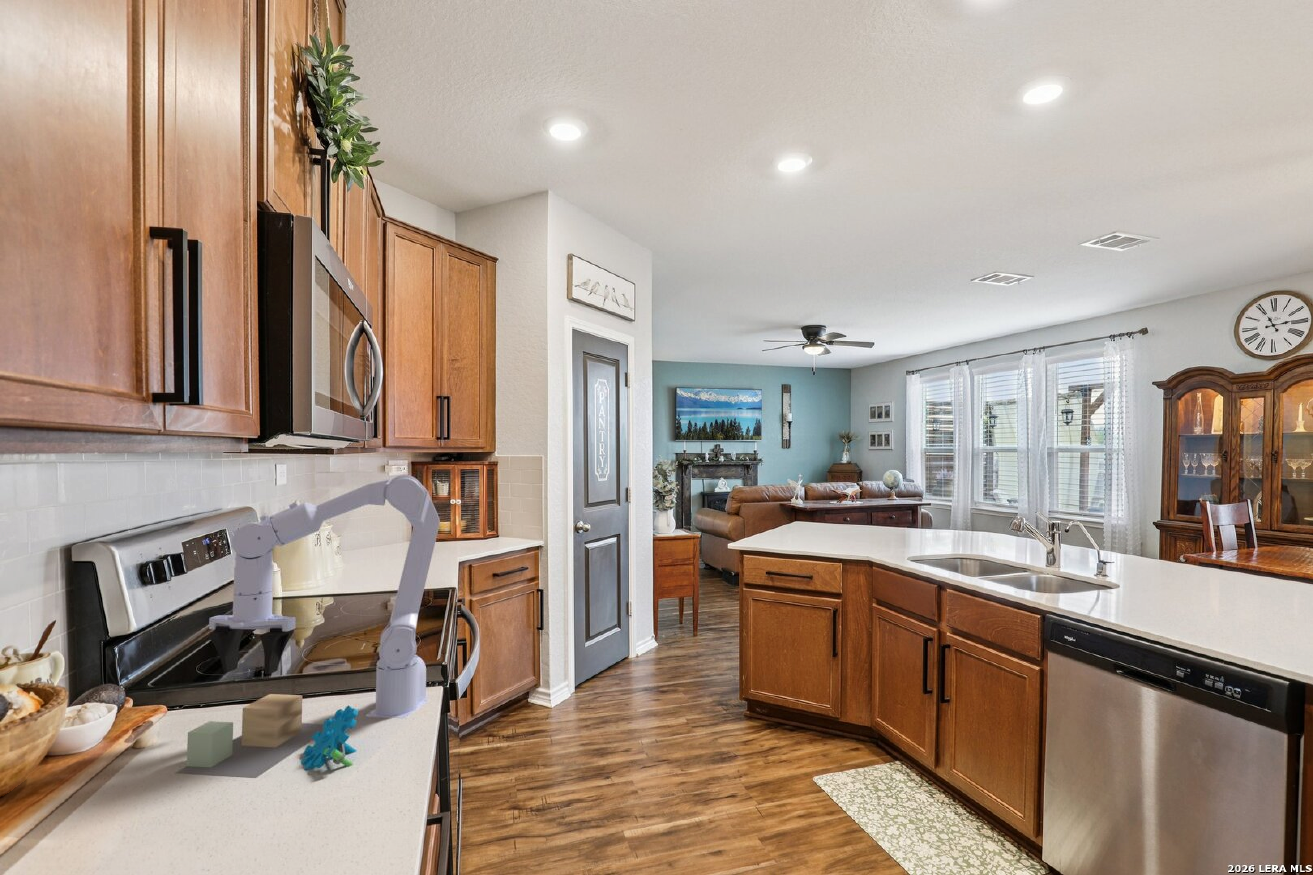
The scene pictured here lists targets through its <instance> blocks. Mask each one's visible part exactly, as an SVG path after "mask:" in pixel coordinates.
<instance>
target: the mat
mask: <svg viewBox="0 0 1313 875" xmlns="http://www.w3.org/2000/svg"><path fill="white" fill-rule="evenodd" d="M323 728H324V726H323V723H308V722H307V723H305V722H302V731H301V732H299V733H298V734H296V735H295V736H293V737H292V738H290V739H288V740H287V741H285V742H284V743H282V744H281V745H279V746H277V747H257V746H241V745H242V734H241V735H239V736H237V737H236V738H234V739H233V748H232V755H231V756H229V757H228V758H226V759H224V760H223V761H221V762H219V763H218V764H216V765H214V766H213V767H194V766H187V765H186V766H185V767H183V768H181V769H178V770H177V771H175V772H174V773H175V774H180V775H181V774H182V775H183V774H184V775H198V776H199V775H201V776H218V777H232V778H233V777H234V778H235V777H236V778H249V779H251V778H252V779H253V778H254V779H256V778H259V776H261V775H262V774H264V773H265V772H267V771H268V770H270V769H272V768H273V767H275V766H276V765H277V764H279V763H281V762H282V761H283V760H285V759H287V757H290V756H291V755H292V754H294V753H295V752H297V751H298V750H300V749H301V748H303V747H305V746H306V745H307V744H309V743H310V742H312V741H313V740H312V739H311V738H312V736H313V735H314V734H315V733H316V732H317V731H318V732H320V733H322V731H323Z"/></svg>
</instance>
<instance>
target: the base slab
mask: <svg viewBox="0 0 1313 875" xmlns="http://www.w3.org/2000/svg"><path fill="white" fill-rule="evenodd" d="M302 723H303V713H302V714H300V715H298V716H297V717H295V718H293V719H292V720H290V721H288V722H286V723H285V724H283V725H281V726H280V727H278V728H256V727H242V726H241V735H242V745H241V746H257V747H277V746H279V745H281V744H282V743H284V742H285V741H287V740H288V739H290V738H292V737H293V736H295V735H296V734H298V733H299V732H301V731H302Z"/></svg>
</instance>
